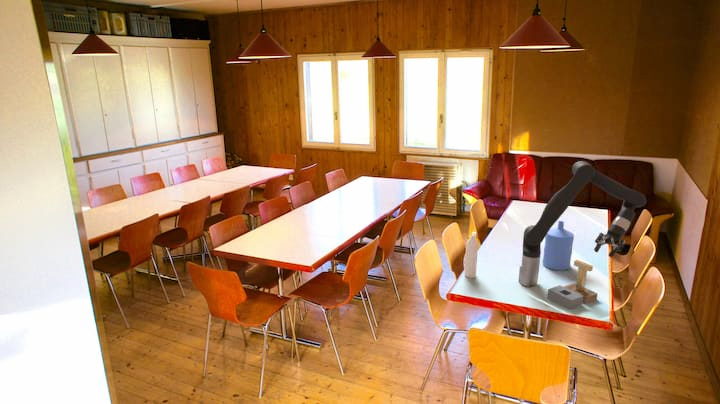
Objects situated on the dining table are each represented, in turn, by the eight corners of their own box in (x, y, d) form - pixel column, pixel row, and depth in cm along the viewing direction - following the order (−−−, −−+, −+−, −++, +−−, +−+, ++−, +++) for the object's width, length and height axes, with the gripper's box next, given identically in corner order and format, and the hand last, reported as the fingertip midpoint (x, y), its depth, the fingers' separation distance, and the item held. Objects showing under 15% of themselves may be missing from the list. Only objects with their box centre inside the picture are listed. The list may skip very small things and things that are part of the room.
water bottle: (474, 278, 273) (477, 237, 266) (463, 276, 276) (465, 236, 269) (477, 272, 281) (480, 232, 274) (466, 271, 283) (468, 231, 276)
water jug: (572, 271, 281) (578, 226, 274) (544, 269, 284) (549, 225, 277) (567, 261, 296) (572, 218, 288) (540, 259, 299) (545, 217, 291)
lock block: (561, 294, 254) (562, 286, 253) (572, 290, 258) (573, 283, 257) (585, 305, 242) (586, 297, 241) (596, 301, 247) (597, 293, 245)
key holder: (546, 299, 249) (548, 289, 247) (558, 295, 253) (559, 285, 251) (570, 311, 237) (571, 300, 235) (581, 306, 241) (583, 295, 239)
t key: (569, 293, 253) (573, 261, 248) (573, 292, 254) (577, 259, 249) (584, 300, 245) (589, 267, 240) (588, 298, 247) (593, 265, 242)
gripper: (603, 220, 249) (587, 246, 248) (627, 227, 236) (611, 255, 236) (610, 227, 252) (594, 253, 252) (635, 234, 240) (618, 261, 239)
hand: (602, 254), depth 244 cm, fingers open, 8 cm apart
